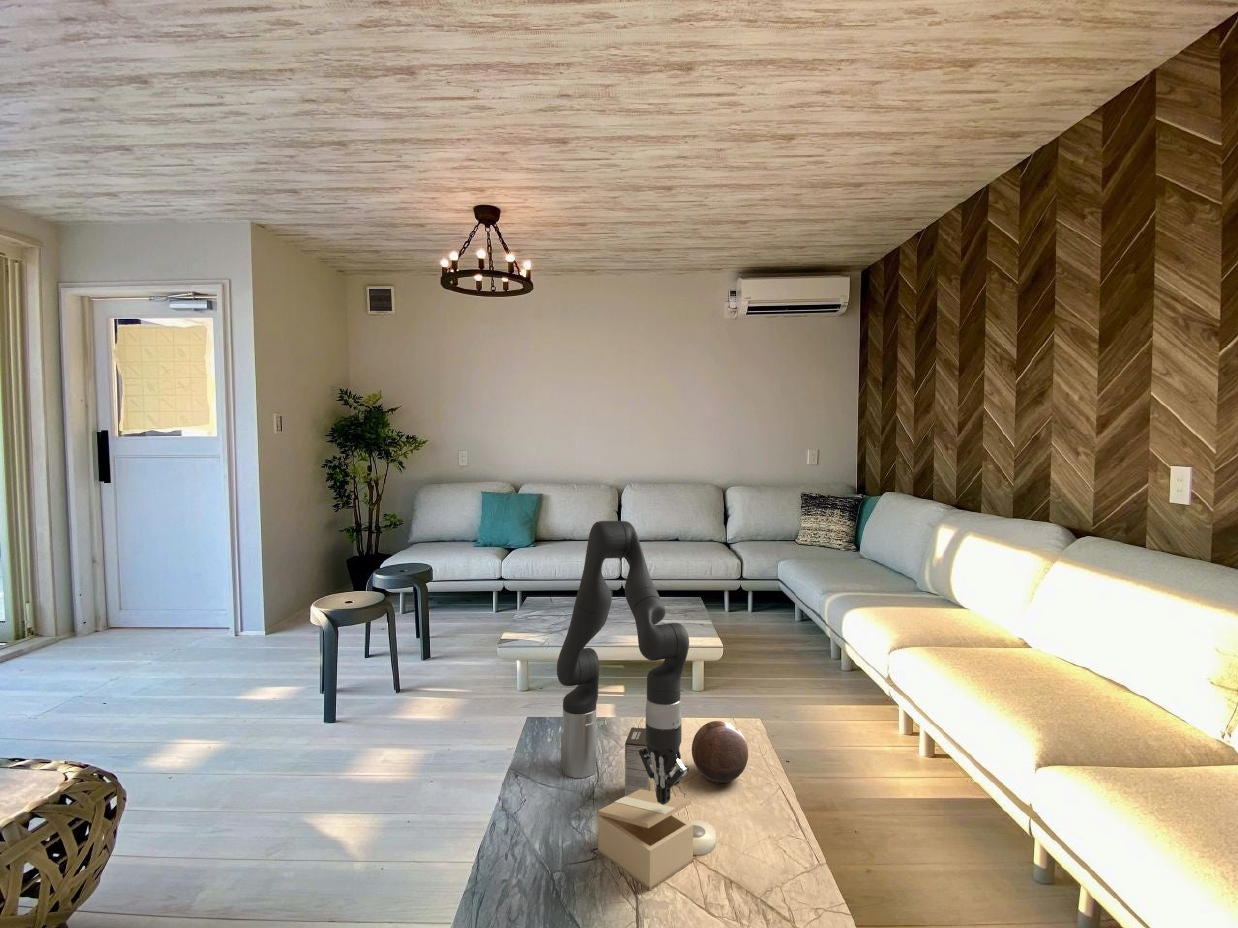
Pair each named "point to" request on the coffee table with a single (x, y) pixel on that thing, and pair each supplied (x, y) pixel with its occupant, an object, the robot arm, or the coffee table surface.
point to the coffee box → (636, 763)
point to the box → (647, 847)
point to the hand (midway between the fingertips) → (663, 802)
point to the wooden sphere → (719, 751)
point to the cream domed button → (703, 837)
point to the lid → (643, 808)
